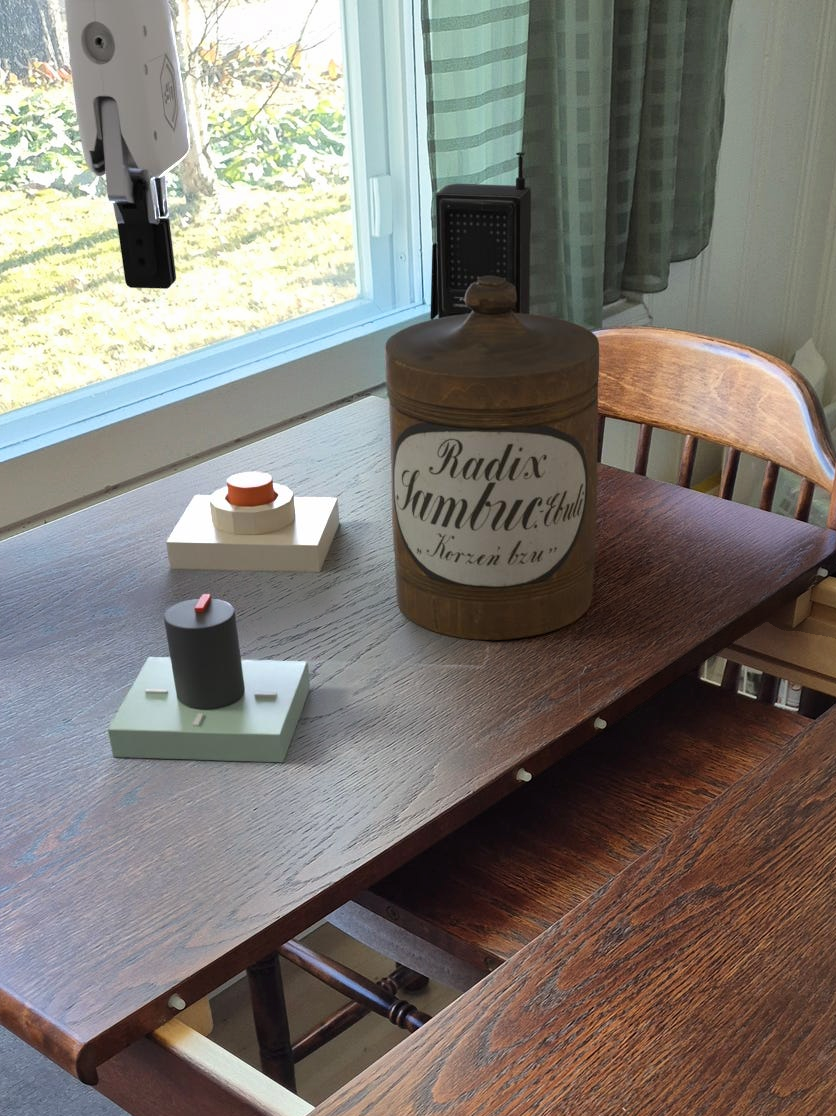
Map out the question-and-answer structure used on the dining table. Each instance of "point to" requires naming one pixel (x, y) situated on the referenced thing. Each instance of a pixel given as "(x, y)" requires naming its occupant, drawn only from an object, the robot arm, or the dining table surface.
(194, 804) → the dining table surface
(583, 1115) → the dining table surface
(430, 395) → the wooden container
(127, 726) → the panel
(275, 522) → the block
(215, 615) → the dial
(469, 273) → the portable radio
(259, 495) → the button
